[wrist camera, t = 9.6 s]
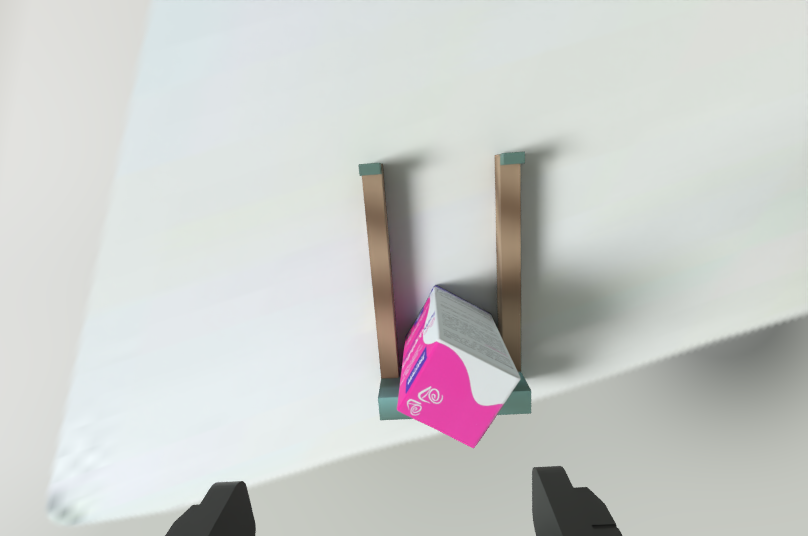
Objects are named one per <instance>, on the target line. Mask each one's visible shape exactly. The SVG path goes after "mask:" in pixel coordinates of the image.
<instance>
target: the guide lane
mask: <svg viewBox="0 0 808 536" xmlns="http://www.w3.org/2000/svg"><path fill="white" fill-rule="evenodd" d="M522 163H525V152H514V153H503V154H499V155H495V196H496V252H497V308H498V331H499V333H500V335H501V337H502V340H503V342H504V344H505V346H506V348H507V350H508V352H509V355H510V357H511V359H512V361H513V363H514V365H515V367H516V369H517V371H518V373H519V376H520V378H521V379H520V381H519V382H518V384H517V385H516V387H515V388H514V390H513V391H512V393H511V394H510V396H509V397H508V399H507V401H506V402H505V404H504V405H503V407H502V408H501V410H500V411H499V413H498V414H497V415H507V414H529V413H531V389H530V388H529V386H528V384H527V382H526V380H525V378H524V376H523V374H522V373H521V201H520V164H522ZM359 174H360V176H362V182H363V192H364V203H365V213H366V224H367V234H368V244H369V255H370V265H371V276H372V286H373V297H374V307H375V318H376V328H377V338H378V349H379V359H380V370H381V384H380V389H379V395H378V403H379V413H380V420H397V419H413V418H411V417H409V416H407V415H405V414H403V413H401V412H399V411H397V404H398V396H399V388H400V379H401V372H402V367H400V366H399V354H398V342H397V330H396V318H395V306H394V294H393V282H392V270H391V258H390V246H389V234H388V222H387V210H386V198H385V186H384V174H383V164H381V163H371V164H359Z"/></svg>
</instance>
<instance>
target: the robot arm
mask: <svg viewBox="0 0 808 536" xmlns="http://www.w3.org/2000/svg"><path fill="white" fill-rule="evenodd" d="M532 513H533V521H534V527H535V532H536V536H622V534H621V532H620V531H619V529H618V528H617V527H616V523H615V521H614V520H613V518H612V516H611V514H610V512H609V511H608V509H607V507H606V505H605V504H604V503H603V502H602V501H601V500H600V499H599V498H598V497H597V496H596V495H595V494H594V493H593V492H592V491H590V489H588V488H587V487H580V488H573V486H572V484H571V482H570V480H569V478H568V476H567V474H566V472H565V470H564V468H563V467H561V466H552V467H534V468H533V471H532ZM255 531H256V528H255V520H254V516H253V512H252V508H251V503H250V499H249V495H248V491H247V487H246V484H245V483H244V482H243V481H238V482H218V483H215V484H213V485H212V486H211V488H210V489H209V491H208V492H207V494H206V496H205V497H204V499H203V500H202V502H201V504H200V505H192V506H191V507H190V508H189V509H188V510H187V511H186V512H185V513H184V514H183V515H182V516H181V517H179V518H178V519H177V520H176V521H175V522H174V523H173V525H172V526H171V528H170V529H169V531H168V532H167V534H166V535H165V536H255Z"/></svg>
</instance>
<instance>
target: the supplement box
mask: <svg viewBox="0 0 808 536" xmlns="http://www.w3.org/2000/svg"><path fill="white" fill-rule="evenodd" d="M520 379H521V378H520V376H519V373H518V371H517V369H516V367H515V365H514V363H513V361H512V359H511V357H510V355H509V352H508V350H507V348H506V346H505V344H504V342H503V340H502V337H501V335H500V333H499V331H498V329H497V327H496V325H495V322H494V320H493V318H492V316H491V314H490V313H489V312H487V311H485V310H483V309H481V308H479V307H477V306H475V305H473V304H471V303H469V302H468V301H466V300H464V299H462V298H460V297H458V296H456V295H454V294H452V293H451V292H449V291H447V290H445V289H443V288H441V287H439V286H437V285H435V286H434V287H433V289H432V291H431V293H430V295H429V297H428V299H427V301H426V303H425V305H424V307H423V308H422V310H421V312H420V314H419V315H418V317H417V319H416V321H415V322H414V324H413V326H412V327H411V329H410V330H409V332H408V334H407V335H406V337H405V346H404V354H403V363H402V372H401V379H400V388H399V396H398V404H397V411H399V412H401V413H403V414H405V415H407V416H409V417H411V418H413V419H415V420H417V421H420V422H422V423H424V424H426V425H428V426H430V427H432V428H434V429H436V430H438V431H440V432H442V433H444V434H446V435H448V436H450V437H452V438H454V439H456V440H458V441H460V442H462V443H464V444H466V445H468V446H470V447H472V448H474V447H475V446H476V445H477V443H478V442H479V441H480V439H481V438H482V436H483V435H484V434H485V432H486V431H487V429H488V428H489V426H490V424H491V423H492V422H493V420H494V419H495V417H496V416H497V414H498V413H499V411H500V410H501V408H502V407H503V405H504V404H505V402H506V401H507V399H508V397H509V396H510V394H511V393H512V391H513V390H514V388H515V387H516V385H517V384H518V382H519V381H520Z"/></svg>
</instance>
